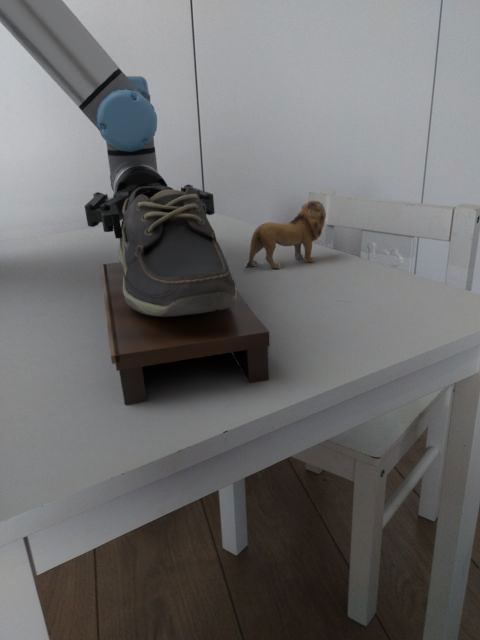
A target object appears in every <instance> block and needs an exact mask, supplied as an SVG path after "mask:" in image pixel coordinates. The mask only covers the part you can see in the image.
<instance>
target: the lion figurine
mask: <svg viewBox="0 0 480 640" xmlns="http://www.w3.org/2000/svg"><path fill="white" fill-rule="evenodd" d="M326 218H327V212H326V209H325V206H324V204H323V203H322V202H321V201H318V200H308V201H307V202H304V204H302V205H301V210H300V211H299V212H298V213H297V214H296V216H295V217H294V218H293V219H291V220H290V221H289V222H281V223H280V222H272V221H271V222H269V221H268V222H264V223H261V224H260V225H259V226H258V227H256V228H255V230H254V232H253V234H252V236H251V239H250V246H249V254H248V261H247V263H246V265H245V267H244V269H250V268H251V267H256V266H258V261H256V260H254V259H255V257H256V255H257V254H258V253H259V252H260V251H262V249H264V250H265V260H266V262H267V263H268V264H269V266H270V268H272V269H280V268H281V265H280V264H279V263H277V262H275V260H274V258H273V257H274V253H275V251H276V247H277V245H278V246H281V247H294V258H295V259H296V260H303V259H304V260H305V261H306V263H311V264H312V263H314V262H315V259H314V258H313V257H311V255H312V249H313V242H315V241H317V240H318V239H319V238H320V237H321V236H322V233H323V229H324V226H325V224H326V223H325V222H326ZM302 246H303V248H304V255H303V254H302Z"/></svg>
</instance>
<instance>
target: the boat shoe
mask: <svg viewBox="0 0 480 640" xmlns="http://www.w3.org/2000/svg"><path fill="white" fill-rule="evenodd" d="M193 188H194V187H193ZM193 188H191V187H188V188H187V189H186V191H185V192H182V191H181V190H179V189H174V190H167V189H165V188H162V187H158V186H145V187H139V188H137V189H136V190H134V191H133V192H132V194H131V195H130V198H127V199H126V200H125V203H124V205H123V210H122V212H123V215H124V218H123V219H122V220H121V223H120V224H121V231H122V238H119V248H118V258H119V262H121V264H122V268H123V275H124V276H123V293H124V296H125V301H126V303H127V304H128V305H129V306H130V307H131V308H132V309H134V310H135V311H138V312H140V313H142V314H146V315H151V316H159V317H172V316H182V315H190V314H198V313H205V312H212V311H215V310H217V309H218V310H223V309H227V308H230V307H233V306H234V305H235V304H236V298H237V294H236V290H237V288H236V282H235V280H234V278H233V275H232V273H231V269H230V268H229V267H230V266H229V263H228V261H227V259H226V257H225V254H224V252H223V250H222V247H221V246H220V244H219V241H218V239H217V236H216V232H215V230H214V228H213V227H212V225H211V223H210V221H209V220H208V217H207V214H206V215H205V212H204V209H203V206H202V204H201V201H200V199H199V196H198V194H197V192H196V191H195V190H194V189H193Z"/></svg>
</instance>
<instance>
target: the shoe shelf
mask: <svg viewBox="0 0 480 640" xmlns="http://www.w3.org/2000/svg"><path fill="white" fill-rule="evenodd" d="M100 272H101V281H102V290H103V299H104V300H103V301H104V309H105V318H106V327H107V336H108V344H109V345H108V346H109V353H110V360H111V361H110V362H111V364H112V365H115V369H116V371H118V373H119V378H120V379H119V380H120V384H121V390H122V396H123V402H124V403H123V404H124V405H131V404H136V403H143V402H147V401H148V398H147V397H148V396H147V390H146V383H145V375H144V369H143V367H149V366H154V365H161V364H168V363H173V362H179V361H180V362H181V361H185V360H191V359H199V358H206V357H212V356H217V355H223V354H224V355H225V354H229V353H231V355H232V356H233V358H234V360H235V361H236V363H237V364H238V366H239V368H240V370H241V371H242V374H243V375H244V377H245V379H246V380H247V382H248V383H249V384H253V383H258V382H265V381H269V380H270V367H269V365H270V364H269V347H270V345H271V344H270V343H271V341H270V340H271V339H270V331H269V330H268V328H267V327H266V326H265V324H264V323H263V322H262V321H261V319H260V318H259V316H258V315H257V314H256V313H255V312H254V311H253V309H252V308H251V307H250V305H249V304H248V303H247V301H246V300H245V299H244V297H243V296H242V295H241V294H240V292H239V291H238V290H237V289H236V294H237V298H236V304H235V305H234V306H233V307H230V308H227V309H223V310H218V309H217V310H215V311H212V312H205V313H198V314H190V315H182V316H172V317H159V316H151V315H146V314H142V313H140V312H138V311H135V310H134V309H132V308H131V307H130V306H129V305H128V304H127V303H126V301H125V296H124V293H123V276H124V275H123V268H122V264H121V261H119V262H118V261H117V262H111V263H110V262H109V263H101V264H100Z"/></svg>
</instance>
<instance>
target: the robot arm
mask: <svg viewBox="0 0 480 640" xmlns="http://www.w3.org/2000/svg"><path fill="white" fill-rule="evenodd" d="M0 24H1V25H2V26H3V27H4V28H5V29H6V30H7V31H8V33H10V34H11V36H12V37H13V38H14V39H15V40H16V41H17V42H18V43H19V45H21V46H22V48H23V49H24V50H25V51H26V52H27V53H28V54H29V55H30V56H31V57H32V59H33V60H34V61H35V62H36V63H37V64H38V65H39V66H40V67H41V69H43V70H44V71H45V73H46V74H47V75H48V76H49V78H51V79H52V80H53V81H54V82H55V84H56V85H57V86H58V87H59V88H60V89H61V90H62V91H63V92H64V93H65V95H67V97H68V98H69V99H70V100H71V101H72V102H73V103H74V104H75V105H76V106H77V107H78V108H79V110H80V111H81V112H82V113H83V114H84V115H85V116H86V118H87V119H88V120H89V121H90V122H91V123H92V124H93V125H94V127H95V128H97V130H98V131H99V133H100V136H101V138H103V140H104V141H105V144H106V149H107V151H106V152H107V159H108V167H109V173H110V174H109V179H110V180H109V181H110V188H111V190H112V191H113V195H112V196H110V197H109V196H108V193H102V192H99V191H97V192H95V193H93V194H92V195H93V198H91V199H90V201H88V202H87V203H86V204H85V205H84V212H85V216H86V217H85V218H86V224H87V227H89V228H90V227H91V228H95V227H96V226H98V225H99V224H100V223H102V227H103V232H104V233H111V232H114V237H115V239H120V238H122V231H121V224H122V223H121V221H122V220H123V218H124V215H123V212H122V210H123V205H124V203H125V200H126V199H127V198H130V195H131V194H132V192H133V191H134V190H136V189H137V188H139V187H145V186H158V187H162V188H165V189H167V190H175V189H174V188H173V187H171V186H168V184H167V182H166V180H165V179H164V178H163V176H162V175H161V174H160V173H159V172H158V164H157V162H158V161H157V155H156V147H155V138H154V137H155V135H156V132H157V129H158V115H157V113H156V111H155V107H154V105H153V104H152V103H151V95H150V92H149V85H148V81H147V79H146V78H145V77H144V76H139V75H138V76H137V75H130V76H129V75H128V76H127V75H126V74H125V73H124V72H123V71H122V70H121V68H120V66H119V65H118V64H117V63H116V62H115V61H114V59H112V57H111V56H110V55H109V54H108V52H107V51H106V50H105V49H104V48H103V47H102V45H101V44H100V43H99V42H98V41H97V40H96V38H95V37H94V36H93V35H92V34H91V32H90V31H89V30H88V29H87V28H86V26H85V25H84V24H83V23H82V22H81V20H79V18H78V16H77V15H75V14H74V12H73V11H72V10H71V9H70V8H69V6H68V5H67V4H66V3H65V2H64V0H0ZM188 187H191V188H193V189H194V190H195V191H196V192H197V194H198V196H199V199H200V201H201V204H202V206H203V209H204V212H205V215H206V216H212V215H214V214H215V213H216V212H215V203H214V199H215V198H214V194H213V193H211V192H208V191H205V190H202V189H199V188H196V187H194V185H192V184H186V185H183V186H181V187H180V191H182V192H185V191H186V189H187V188H188Z"/></svg>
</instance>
